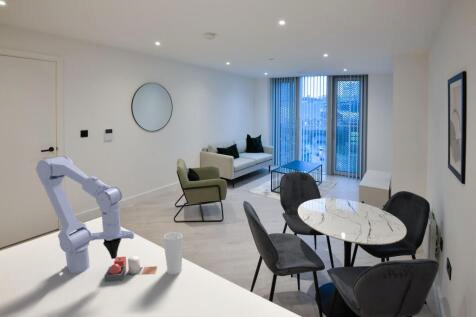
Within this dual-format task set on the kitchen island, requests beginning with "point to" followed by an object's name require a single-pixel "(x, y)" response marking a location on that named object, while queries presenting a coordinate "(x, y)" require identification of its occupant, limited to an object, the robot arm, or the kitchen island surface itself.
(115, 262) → the red block with knob
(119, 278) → the pop dome base
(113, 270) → the pop dome
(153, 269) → the game board
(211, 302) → the kitchen island surface
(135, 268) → the ivory pawn
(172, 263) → the drinking glass
